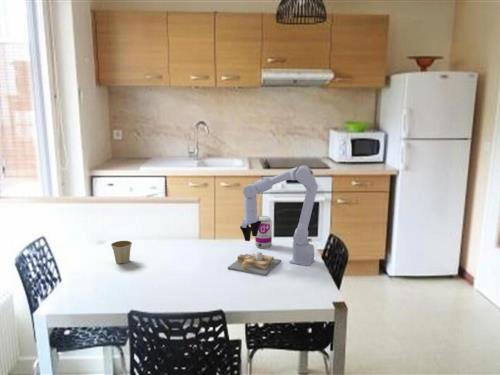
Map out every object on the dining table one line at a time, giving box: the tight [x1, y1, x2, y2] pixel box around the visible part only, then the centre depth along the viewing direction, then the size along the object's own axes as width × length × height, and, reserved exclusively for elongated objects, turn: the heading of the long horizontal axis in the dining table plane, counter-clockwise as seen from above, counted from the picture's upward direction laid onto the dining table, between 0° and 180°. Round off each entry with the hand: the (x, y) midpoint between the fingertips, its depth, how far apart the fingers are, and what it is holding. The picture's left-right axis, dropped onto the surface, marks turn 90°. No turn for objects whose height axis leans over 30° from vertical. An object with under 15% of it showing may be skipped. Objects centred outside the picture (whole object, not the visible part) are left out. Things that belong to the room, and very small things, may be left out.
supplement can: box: [254, 215, 273, 249], centre depth 218 cm, size 8×8×15 cm
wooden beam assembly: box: [237, 253, 275, 270], centre depth 194 cm, size 15×10×2 cm, turn 64°
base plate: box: [227, 251, 282, 277], centre depth 194 cm, size 18×18×6 cm
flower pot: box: [110, 240, 133, 265], centre depth 200 cm, size 9×9×9 cm
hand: (251, 238), depth 201 cm, fingers open, 7 cm apart
